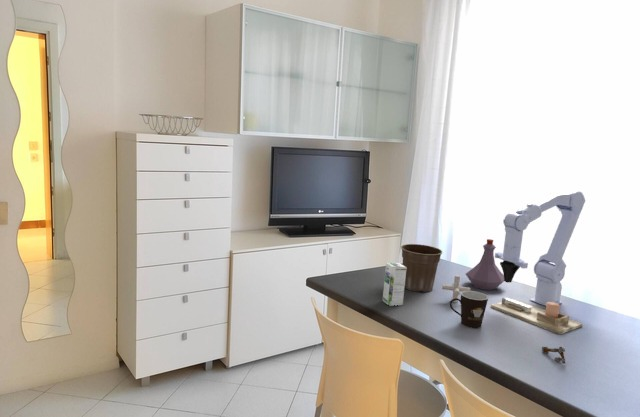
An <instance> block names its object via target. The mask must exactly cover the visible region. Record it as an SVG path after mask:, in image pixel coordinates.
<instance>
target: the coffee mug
mask: <svg viewBox="0 0 640 417" xmlns="http://www.w3.org/2000/svg"><path fill="white" fill-rule="evenodd" d="M455 300H457V302H458V301H459V303H460V312H459V311H457V310H455V309H454V307H453V306H452V304H453V303H454V302H453V301H455ZM488 301H489V296H488V295H487V294H485V293H482V292H479V291H474V290H470V291H463V292H460V298H459V297H458V298H455V299H451V300H450V301H449V307H450V308H451V310H452V311H453V312H454V313H456V314H457V315H458V316H460V323H461V325H462V326H464V327H467V328H470V329H480V328H481V327H482V324H483V320H484V317H485V313H486V309H487V305H488Z"/></svg>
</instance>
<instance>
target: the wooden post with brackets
mask: <svg viewBox="0 0 640 417" xmlns="http://www.w3.org/2000/svg"><path fill="white" fill-rule="evenodd" d="M549 352H551V353H558V354H559V356H558V357H557V356H555V357H554V361H555V362H561V363H562V364H563V365H566V358H565V353H564V352H566V349H565V348H564V347H562V346H559V348H556V347H555V348H549V347H548V346H541V353H542V354H548V353H549Z"/></svg>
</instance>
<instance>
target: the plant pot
mask: <svg viewBox="0 0 640 417" xmlns="http://www.w3.org/2000/svg"><path fill="white" fill-rule="evenodd" d="M400 248H401V258H402V265H403V266H405V267H406V278H405V288H404V289H406V290H409V291H412V292H417V293H418V292H422V293H427V292H431V291H432V290H434V289H433V288H434V284H435V279H436V274H437V270H438V265H439V263H440V260H441V255H442V254H443V250H442V249H440V248H437V247H435V246H431V245H426V244H420V243H419V244H418V243H407V244H401V246H400Z"/></svg>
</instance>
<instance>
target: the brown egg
mask: <svg viewBox="0 0 640 417" xmlns="http://www.w3.org/2000/svg"><path fill="white" fill-rule="evenodd" d="M560 308H561V304H557V303H554V302H547V304H546V306H545V310H546V311H545V315H548V316H550V317H553V318H556V319H558V314H559V313H560Z"/></svg>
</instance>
